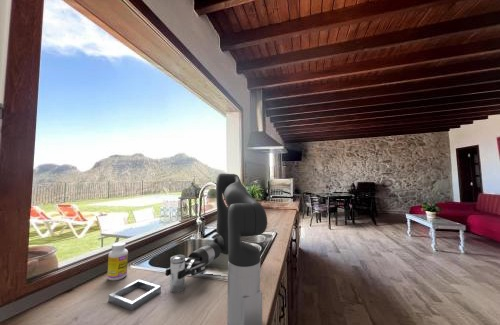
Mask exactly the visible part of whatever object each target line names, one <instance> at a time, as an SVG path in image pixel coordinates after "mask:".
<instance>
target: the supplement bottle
mask: <svg viewBox="0 0 500 325" xmlns="http://www.w3.org/2000/svg"><path fill="white" fill-rule="evenodd" d="M126 245H127V244H126V242H124V241H122V242H121V241H120V242H115V243H112V244H111V249H112V250H110V251H109V252H108V255H107V256H108V257H107V258H108V259H107V274H106V275H107V277H106V278H107V280H109V281H118V280H122V279H123V278H125V277H127V275H128V260H129V259H128V258H129V257H128V256H129V251H128V249H127V248H126Z"/></svg>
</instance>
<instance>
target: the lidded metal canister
mask: <svg viewBox="0 0 500 325" xmlns="http://www.w3.org/2000/svg"><path fill="white" fill-rule="evenodd" d="M169 258H170V259H169V260H170V262H169V263H170V265H171V266H169V268H170V275H169V276H170V277H169V292H172V293H180V292H182V291H183V290H185V286H186V285H185V282H186V281H185V280H186V279H185V278H186V276H185V277H183V278H181V279H178V272H180V271H182V270H184V269H185V258H186V255H185V254H176V255H173V256H171V257H169Z"/></svg>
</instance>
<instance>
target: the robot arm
mask: <svg viewBox="0 0 500 325" xmlns="http://www.w3.org/2000/svg"><path fill="white" fill-rule="evenodd" d="M215 191H216V214H217V216H216V228H215V229H216V234H218V235H219V236H216V237H214V238H213V239H212V240H211V242H210V243H208V244H207V245H204V246H201V247H200V248H198V249H195V250H194V251H192V252H190V254H189V255H188V256H187V257H185V269H184V270H182V271H180V272H178V279H181V278H183V277H185V278H186V276H190V275H191V276H196V275H198V274H200V273H202V272H205V270H206V266H208V265H210V264H211V263H212V262H213V261H214V260H216V259H217V258H218V257H219V256H220V255H221V254H223V255H226V256H228V257H227V299H226V300H227V304H226V306H227V310H226V311H227V312H226V314H227V315H226V325H263V291H262V290H261V250H260V249H259V248H258V247H257V246H255V245H252V244H248V243H246V242H244V241H243V240H241V238H243V237H255V236H260V235H262V234H263V233H265V232H266V230H267V227H268V216H267V213H266V210H265V208H264V206H263V205H262V204H261V203H260V201H257V200H256V199H255V198H254V197H252V195H251V194H250V193H249V191H248V190H247V189H246V188H245V186H244V185H243V183H242V181H241V179H240V177H239V175H237V174H236V173H218V175H217V177H216V181H215ZM170 266H171V264H170ZM170 266H169V267H168V268H166V269H165V276H167V277H168V276H170Z"/></svg>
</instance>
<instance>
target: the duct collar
mask: <svg viewBox="0 0 500 325" xmlns="http://www.w3.org/2000/svg"><path fill="white" fill-rule="evenodd" d="M137 288H141V289H144V290H146V291H147V292H146V293H143V294H142V295H141V296H139V297H137V298H136V299H134V300H130V299H127V298H125V297H123V296H124V295H126V294H128V293H130V292H131V291H133V290H135V289H137ZM161 292H162V289H161V285H158V284H155V283H152V282H148V281H145V280H142V279H137V280H135V281H133V282H131V283H128V284H127V285H125V286H123V287H121V288H119V289H117V290H115V291H113V292H112V293H109V294H108V302H109V303H112V304H115V305H116V306H119V307H122V308H124V309H127V310H128V311H134V310H135V309H137V308H139V307H140V306H141V305H143V304H144V303H147V301H149V300H151V299H152V298H153V297H155V296H157V295H158V294H160V293H161Z"/></svg>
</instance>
